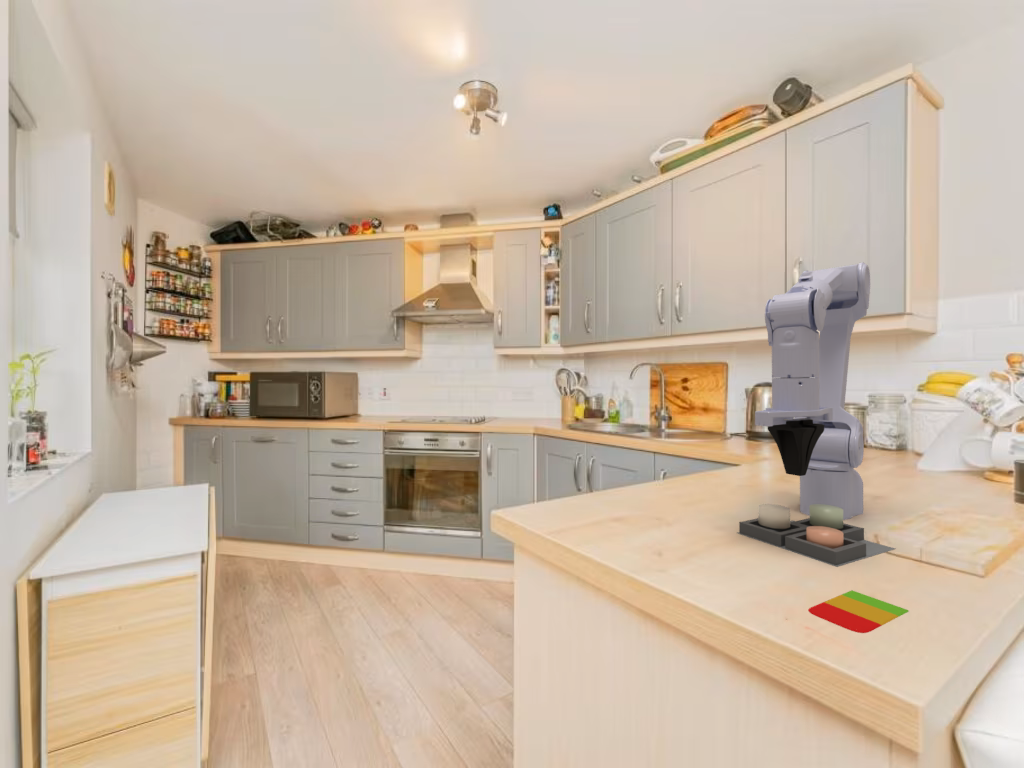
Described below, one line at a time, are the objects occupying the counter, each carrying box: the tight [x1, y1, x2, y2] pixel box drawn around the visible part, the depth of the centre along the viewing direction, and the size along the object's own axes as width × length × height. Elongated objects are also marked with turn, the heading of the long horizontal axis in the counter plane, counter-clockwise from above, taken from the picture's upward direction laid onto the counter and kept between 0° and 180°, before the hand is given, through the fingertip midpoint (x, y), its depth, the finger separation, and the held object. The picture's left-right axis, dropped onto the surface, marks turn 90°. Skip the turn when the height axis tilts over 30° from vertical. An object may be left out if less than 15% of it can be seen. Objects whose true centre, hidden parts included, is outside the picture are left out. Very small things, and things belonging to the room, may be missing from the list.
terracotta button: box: [806, 526, 844, 549], centre depth 61 cm, size 4×4×2 cm
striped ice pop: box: [808, 589, 910, 634], centre depth 47 cm, size 6×15×2 cm, turn 118°
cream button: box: [757, 503, 791, 529], centre depth 67 cm, size 4×4×2 cm
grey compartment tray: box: [736, 517, 896, 568], centre depth 65 cm, size 13×14×3 cm
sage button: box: [809, 504, 844, 529], centre depth 67 cm, size 4×4×2 cm
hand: (795, 474), depth 66 cm, fingers closed
